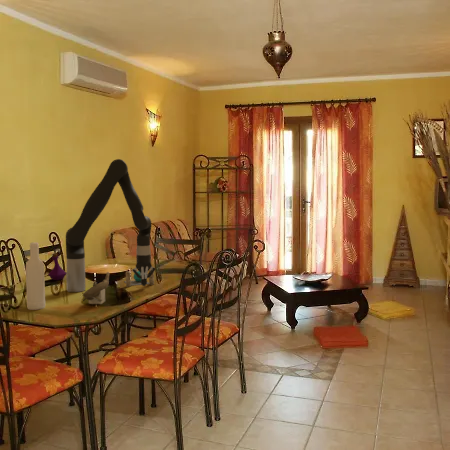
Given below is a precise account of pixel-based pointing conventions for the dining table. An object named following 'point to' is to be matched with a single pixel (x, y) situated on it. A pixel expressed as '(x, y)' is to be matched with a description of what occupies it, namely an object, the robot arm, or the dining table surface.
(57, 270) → the perfume bottle
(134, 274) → the ball
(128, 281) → the left post
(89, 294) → the wood carving
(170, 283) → the dining table surface
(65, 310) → the dining table surface
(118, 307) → the dining table surface
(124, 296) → the dining table surface
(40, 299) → the bottle
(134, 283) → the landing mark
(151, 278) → the right post
